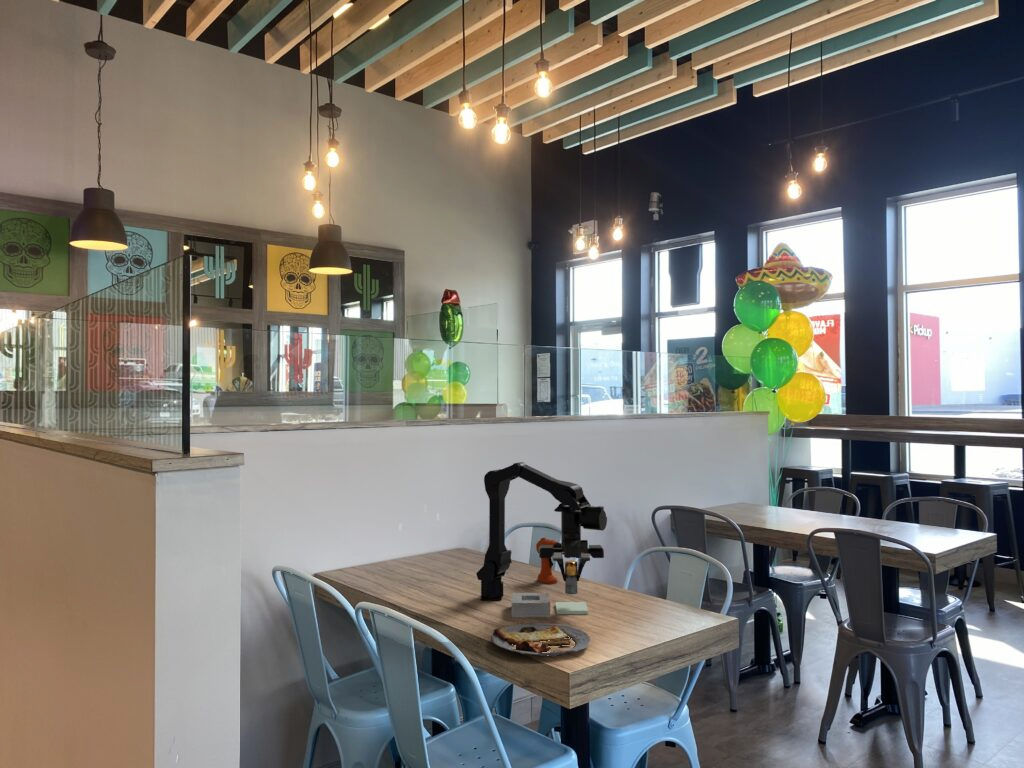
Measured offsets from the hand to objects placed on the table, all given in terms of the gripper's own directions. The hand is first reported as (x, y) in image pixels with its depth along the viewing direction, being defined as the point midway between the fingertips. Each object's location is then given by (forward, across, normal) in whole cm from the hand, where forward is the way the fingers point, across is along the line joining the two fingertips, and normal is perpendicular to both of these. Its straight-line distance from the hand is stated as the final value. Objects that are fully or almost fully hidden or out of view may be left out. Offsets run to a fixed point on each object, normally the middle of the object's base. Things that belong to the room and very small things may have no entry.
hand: (571, 580), depth 227 cm
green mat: (+8, 0, 0) cm, 8 cm away
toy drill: (+9, -3, +30) cm, 32 cm away
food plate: (+9, -10, -31) cm, 34 cm away
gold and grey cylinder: (+4, 0, 0) cm, 4 cm away
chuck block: (+8, -12, -2) cm, 15 cm away
